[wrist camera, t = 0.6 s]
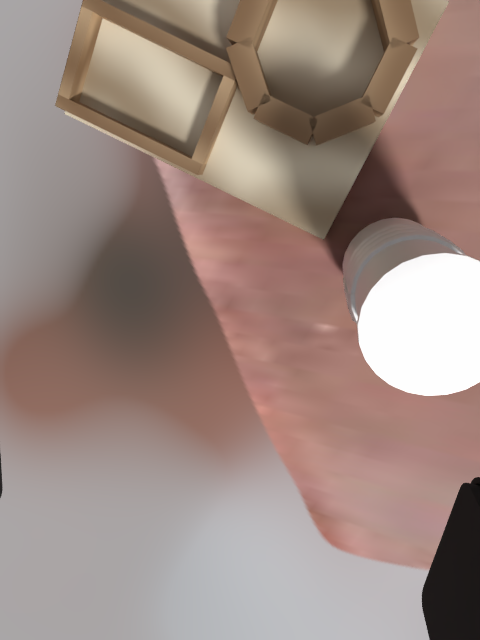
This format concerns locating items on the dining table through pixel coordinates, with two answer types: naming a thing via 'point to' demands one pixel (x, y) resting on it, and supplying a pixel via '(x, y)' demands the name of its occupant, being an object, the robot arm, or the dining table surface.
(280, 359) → the dining table surface
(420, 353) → the white ribbed cup
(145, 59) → the jig board
